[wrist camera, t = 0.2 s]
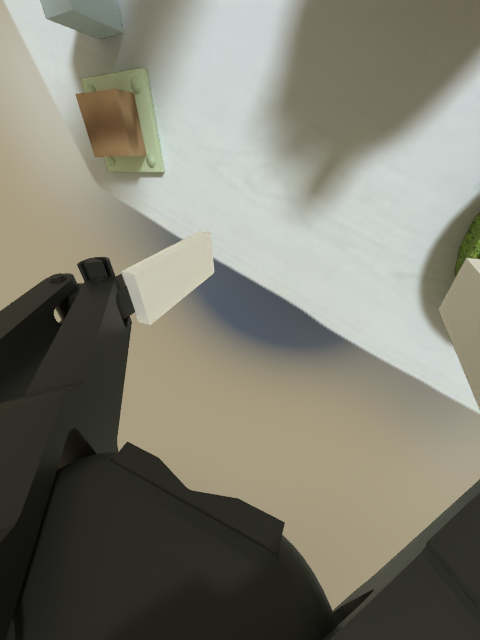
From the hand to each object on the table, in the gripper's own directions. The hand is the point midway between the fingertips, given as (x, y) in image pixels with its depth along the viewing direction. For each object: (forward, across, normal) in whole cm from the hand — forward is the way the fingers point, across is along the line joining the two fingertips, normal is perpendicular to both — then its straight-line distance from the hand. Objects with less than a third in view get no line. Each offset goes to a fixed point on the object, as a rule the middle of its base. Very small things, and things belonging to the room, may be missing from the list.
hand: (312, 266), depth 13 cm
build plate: (+28, -38, +9) cm, 48 cm away
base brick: (+27, -38, +9) cm, 47 cm away
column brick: (+28, -37, +22) cm, 51 cm away
